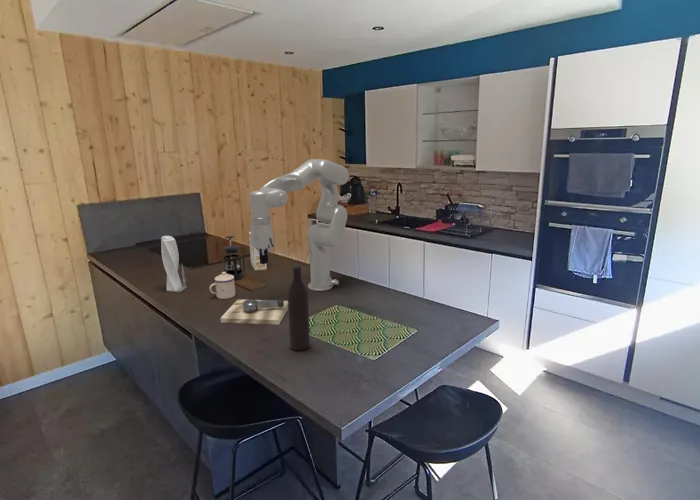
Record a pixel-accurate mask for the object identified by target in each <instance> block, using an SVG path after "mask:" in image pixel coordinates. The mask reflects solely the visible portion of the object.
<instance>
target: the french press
mask: <svg viewBox="0 0 700 500" xmlns="http://www.w3.org/2000/svg"><path fill="white" fill-rule="evenodd" d="M225 238H226V239H229V245H227V246H223V247H222V248H221V250H222V251H223V252H225V253H226V255H224V256H222V263H223V264H222V265H223V272H226V274H229V275H233V276H234V282H236V280H237V281H240V280H242V279H243V274H242V273H243V272H245V271H246V269H245V266H246V265H245V256H244V255H243V254H241V255H240V254H238V253H239V252H240V248H241V247H240V246H239V245H232V241H231V240H232V239H233V238H235V236H233V235H228V236H226V237H225ZM241 259H242V261H241ZM237 261H238V262H239V263H238V262H237ZM225 262H227V265H226V264H225ZM241 262H242V264H241ZM239 279H240V280H239Z"/></svg>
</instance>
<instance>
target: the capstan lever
mask: <svg viewBox="0 0 700 500" xmlns="http://www.w3.org/2000/svg"><path fill="white" fill-rule="evenodd" d="M245 300H246V301H244V302H243V303H235V302H234V303H235V305H243V310H244V311H247V312H251V311H255V310H257V309H258V308H272V307H283V306H284V301H285V300H284V299H283V298H280V299H279V298H278V299H270V300H269V299H266V300H267V301H256V300H257V299H245Z"/></svg>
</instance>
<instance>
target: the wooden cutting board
mask: <svg viewBox="0 0 700 500" xmlns="http://www.w3.org/2000/svg"><path fill="white" fill-rule="evenodd" d="M246 300H247V299H236V300H235V301H234V303H233V304H232V305H231V306H230V307H229V308H228V309H227V310H226V311H225V313H224V314H223V315H222V316H221V317H220V323H221V324H228V323H229V324H248V325H250V324H253V325H274V326H275V325H276V326H277V325H278V326H279V325H280V324H281V322H282V320H283V318H284V317H285V315H286V313H287V312H288V300H284V306H283V307H272V308H258V309H257V310H255V311H251V312H247V311H244V310H243V305H235V303H243V302H244V301H246ZM255 300H256V301H267V300H268V299H255Z"/></svg>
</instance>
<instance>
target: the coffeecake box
mask: <svg viewBox="0 0 700 500" xmlns="http://www.w3.org/2000/svg"><path fill="white" fill-rule="evenodd" d="M248 238H249V252H250V253H249V254H250V265H251V266H252V268H253V270H254V271H257V272H258V271H264V270H267V269H268V268H267V267H268V266H267V264H268V263H266V264H260V256H259V255H260V254H258V250H257V249H256V248H254V247H253V246H252V245H251V231H248Z"/></svg>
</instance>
